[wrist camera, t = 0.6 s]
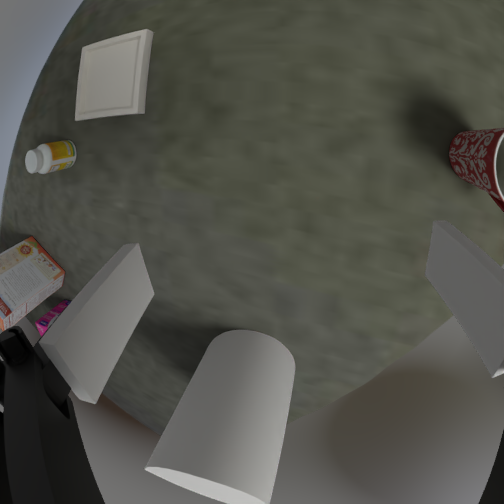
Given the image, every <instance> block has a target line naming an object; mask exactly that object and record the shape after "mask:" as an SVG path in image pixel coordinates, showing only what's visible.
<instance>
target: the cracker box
mask: <svg viewBox="0 0 504 504" xmlns="http://www.w3.org/2000/svg"><path fill="white" fill-rule="evenodd" d="M64 275H65V271H64V270H63V269H62V268H61V267H60V266H59V265H58V264H57V263H56V262H55V261H54V260H53V258H52V257H51V256H50V255H49V254H48V253H47V252H46V251H45V250H44V249H43V248H42V247H41V246H40V244H39V243H38V242H37V241H36V240H35V239H34V238H33V237H32V236H31V237H29V238H27V239H26V240H24V241H22V242H20V243H18V244H16V245H15V246H13V247H11V248H9V249H8V250H6V251H4V252H3V253H1V254H0V328H1V330H2V331H5V330H6V329H8V328H10V327H12V326H13V325H14V324H16V323H17V322H18V321H19V320H21V319H22V318H23V317H24V316H25V315H26V314H28V313H29V312H30V311H31V310H33V309H34V308H35V307H36V306H37V305H39V304H40V303H41V302H42V301H44V300H45V299H46V298H47V297H49V296H50V295H51V294H53V293H54V292H55V291H57V290H58V289H59V288H60V287H62V284H63V280H64Z"/></svg>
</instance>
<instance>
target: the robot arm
mask: <svg viewBox="0 0 504 504" xmlns="http://www.w3.org/2000/svg"><path fill="white" fill-rule="evenodd" d="M425 276H426V277H427V279H428V280H429V281H430V283H431V284H432V285H433V287H434V288H435V289H436V291H437V292H438V293H439V295H440V296H441V298H442V299H443V300H444V302H445V303H446V305H447V306H448V307H449V309H450V310H451V312H452V313H453V315H454V316H455V318H456V319H457V321H458V322H459V324H460V325H461V327H462V328H463V330H464V331H465V333H466V334H467V336H468V338H469V339H470V341H471V342H472V344H473V345H474V347H475V349H476V351H477V352H478V354H479V356H480V357H481V359H482V361H483V362H484V364H485V366H486V368H487V370H488V371H489V373H490V375H491V377H492V378H493V377H496V376H498V375H500V374H503V373H504V269H503V268H502V267H501V266H500V265H498V264H497V263H496V262H495V261H494V260H493V259H492V258H491V257H490V256H489V255H488V254H486V253H485V252H484V251H483V250H482V249H481V248H480V247H478V246H477V245H476V244H475V243H474V242H473V241H471V240H470V239H469V238H468V237H467V236H465V235H464V234H463V233H462V232H460V231H459V230H458V229H457V228H455V227H454V226H453V225H452V224H450V223H449V222H448V221H433V229H432V236H431V243H430V249H429V255H428V260H427V266H426V271H425ZM153 296H154V291H153V288H152V285H151V282H150V279H149V276H148V273H147V270H146V267H145V263H144V260H143V257H142V254H141V250H140V247H139V243H133V244H124V245H123V246H122V247H121V248H120V249H119V250H118V251H117V252H116V253H115V254H114V256H113V257H112V258H111V259H110V260H109V261H108V262H107V263H106V264H105V265H104V266H103V267H102V268H101V269H100V270H99V271H98V272H97V274H96V275H95V276H94V277H93V278H92V279H91V280H90V281H89V282H88V283H87V285H86V286H85V287H84V288H83V289H82V290H81V291H80V292H79V294H78V295H77V296H76V297H75V298H74V299H73V300H72V302H71V303H70V304H69V305H68V306H66V307H65V308H64V309H63V311H62V312H61V313H60V314H59V315H58V318H56V319H55V320H54V322H53V324H51V325H50V326H49V328H48V329H47V330H46V331H45V333H44V334H43V335H42V337H41V338H40V339H39V341H38V342H37V343H36V344H35V346H34V347H32V345H31V344H30V342H29V340H28V339H27V337H26V335H25V334H24V332H23V330H22V329H21V328H20V327H19V326H13V327H10V328H8V329H6V330H5V331H3V332H2V333H1V334H0V356H1V357H2V359H3V360H4V361H1V360H0V404H1V405H2V406H3V407H4V412H3V413H2V412H0V504H105V502H104V500H103V498H102V495H101V493H100V491H99V488H98V486H97V483H96V480H95V478H94V475H93V472H92V470H91V467H90V464H89V461H88V458H87V455H86V452H85V449H84V445H83V442H82V439H81V435H80V431H79V428H78V424H77V420H76V416H75V412H74V407H73V403H72V401H71V398H70V397H69V396H68V394H69V392H70V390H71V389H72V391H73V392H74V393H75V394H76V395H77V397H78V398H79V399H80V400H83V401H87V402H91V403H95V404H96V402H97V400H98V398H99V396H100V394H101V392H102V390H103V388H104V386H105V384H106V382H107V380H108V378H109V376H110V374H111V372H112V370H113V368H114V366H115V364H116V362H117V361H118V359H119V357H120V355H121V353H122V351H123V349H124V347H125V346H126V344H127V342H128V340H129V338H130V336H131V335H132V333H133V331H134V329H135V327H136V325H137V324H138V322H139V320H140V318H141V317H142V315H143V313H144V311H145V310H146V308H147V306H148V304H149V303H150V301H151V299H152V297H153ZM479 504H504V430H503V434H502V438H501V442H500V446H499V449H498V452H497V456H496V459H495V462H494V465H493V468H492V471H491V474H490V477H489V479H488V482H487V485H486V487H485V490H484V492H483V494H482V497H481V499H480V502H479Z"/></svg>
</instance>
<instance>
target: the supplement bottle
mask: <svg viewBox="0 0 504 504" xmlns="http://www.w3.org/2000/svg"><path fill="white" fill-rule="evenodd" d="M76 155H77V153H76V147H75V145H74V143H73V142H72V141H70V140H65V141H58V142H51V143H45V144H41V145H39V146H38V147H37V148H36V149H33V150H30V151H28V153H27V155H26V159H25V164H26V168H27V170H28V172H29V173H35V172H39V173H40V174H46V173H50V172H54V171H57V170H61V169H66V168H69V167H71V166H72V165H73V164H74V162H75V160H76Z"/></svg>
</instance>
